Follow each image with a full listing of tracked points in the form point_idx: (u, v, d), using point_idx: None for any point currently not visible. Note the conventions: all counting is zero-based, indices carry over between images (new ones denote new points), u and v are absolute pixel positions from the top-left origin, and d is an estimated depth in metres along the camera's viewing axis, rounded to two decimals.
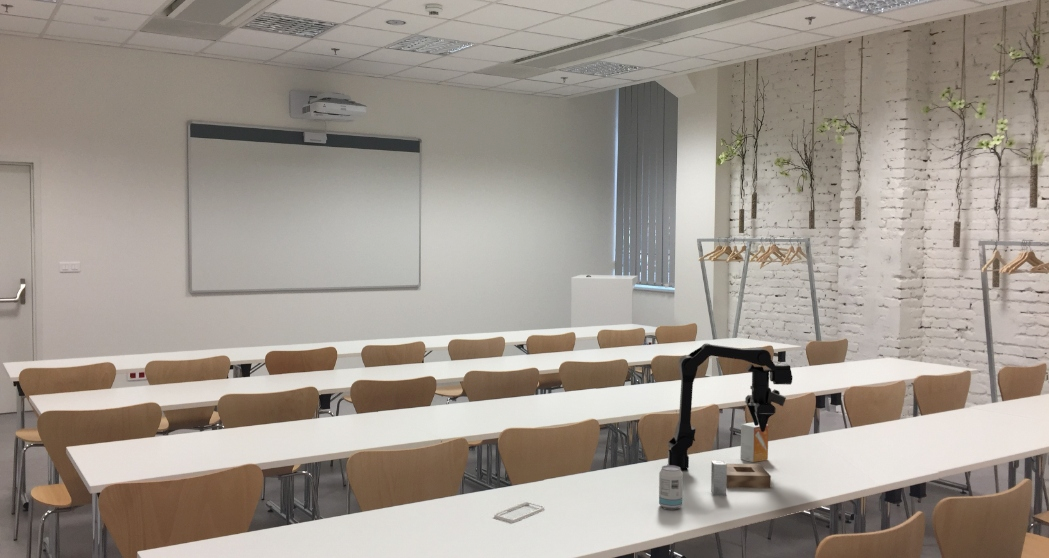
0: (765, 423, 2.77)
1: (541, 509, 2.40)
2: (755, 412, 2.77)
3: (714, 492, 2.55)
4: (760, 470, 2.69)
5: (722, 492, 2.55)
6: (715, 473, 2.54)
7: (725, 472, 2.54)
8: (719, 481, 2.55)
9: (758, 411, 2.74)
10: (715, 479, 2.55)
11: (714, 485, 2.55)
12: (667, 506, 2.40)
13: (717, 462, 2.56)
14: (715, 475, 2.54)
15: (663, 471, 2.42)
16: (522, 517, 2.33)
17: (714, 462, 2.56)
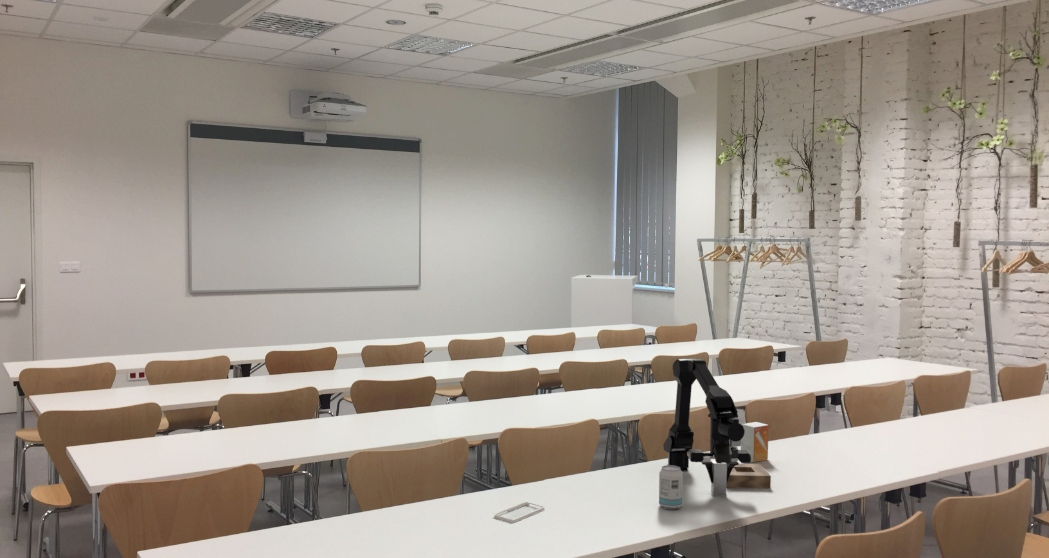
0: (708, 473, 2.56)
1: (541, 509, 2.40)
2: None
3: (714, 492, 2.55)
4: (760, 470, 2.69)
5: (722, 492, 2.55)
6: (715, 473, 2.54)
7: (725, 472, 2.54)
8: (719, 481, 2.55)
9: None
10: (715, 479, 2.55)
11: (714, 485, 2.55)
12: (667, 506, 2.40)
13: None
14: (715, 475, 2.54)
15: (663, 471, 2.42)
16: (522, 517, 2.33)
17: (714, 462, 2.56)
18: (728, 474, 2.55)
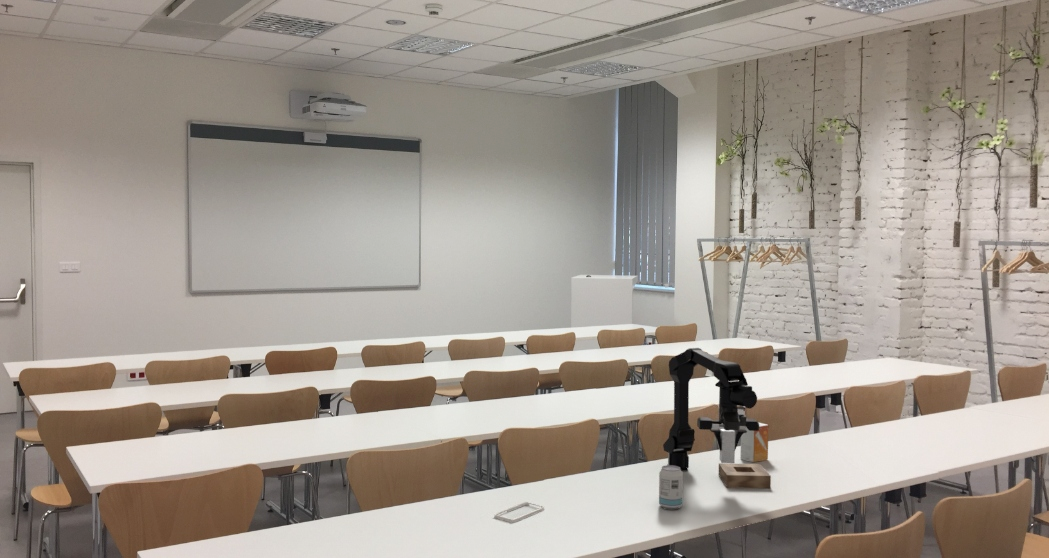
0: (717, 441, 2.60)
1: (541, 509, 2.40)
2: None
3: (722, 459, 2.59)
4: (760, 470, 2.69)
5: (730, 459, 2.59)
6: (723, 441, 2.58)
7: (733, 440, 2.58)
8: (727, 449, 2.58)
9: None
10: (723, 446, 2.59)
11: (722, 452, 2.59)
12: (667, 506, 2.40)
13: (725, 430, 2.60)
14: (723, 442, 2.58)
15: (663, 471, 2.42)
16: (522, 517, 2.33)
17: (723, 430, 2.60)
18: (736, 442, 2.59)
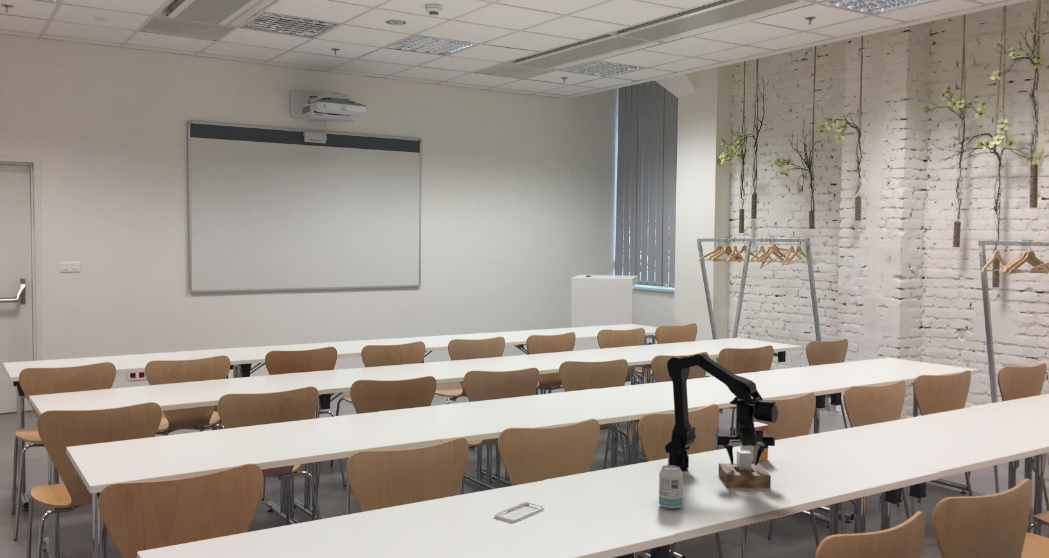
0: (729, 456, 2.69)
1: (541, 509, 2.40)
2: None
3: None
4: (760, 470, 2.69)
5: None
6: (740, 461, 2.68)
7: (750, 461, 2.68)
8: (744, 469, 2.68)
9: None
10: (740, 467, 2.68)
11: None
12: (667, 506, 2.40)
13: (742, 452, 2.69)
14: (740, 463, 2.68)
15: (663, 471, 2.42)
16: (522, 517, 2.33)
17: (739, 451, 2.70)
18: (758, 457, 2.69)
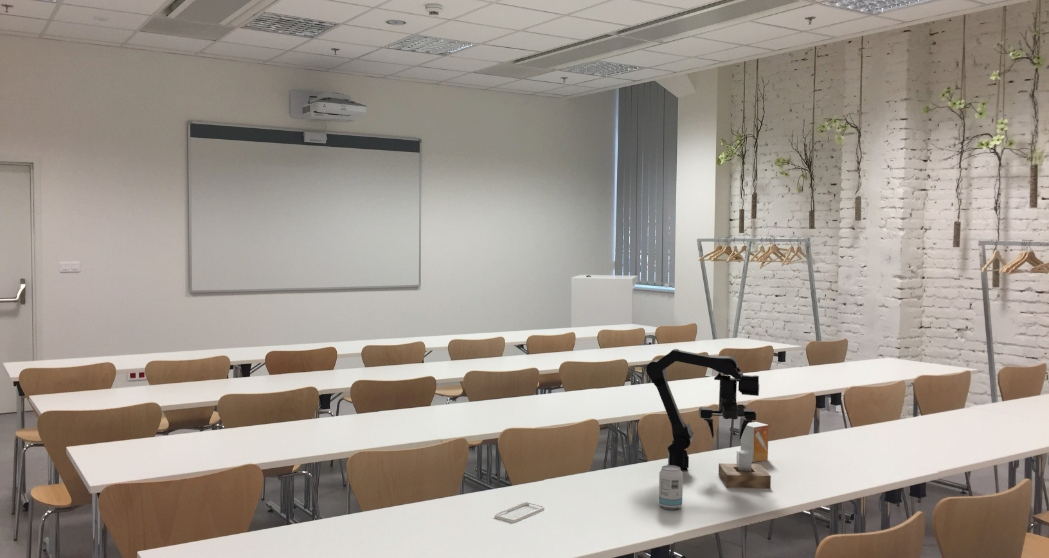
0: None
1: (541, 509, 2.40)
2: None
3: None
4: (760, 470, 2.69)
5: None
6: (740, 461, 2.68)
7: (750, 461, 2.68)
8: (744, 469, 2.68)
9: None
10: (740, 467, 2.68)
11: None
12: (667, 506, 2.40)
13: (742, 452, 2.69)
14: (740, 463, 2.68)
15: (663, 471, 2.42)
16: (522, 517, 2.33)
17: (739, 451, 2.70)
18: (742, 431, 2.77)
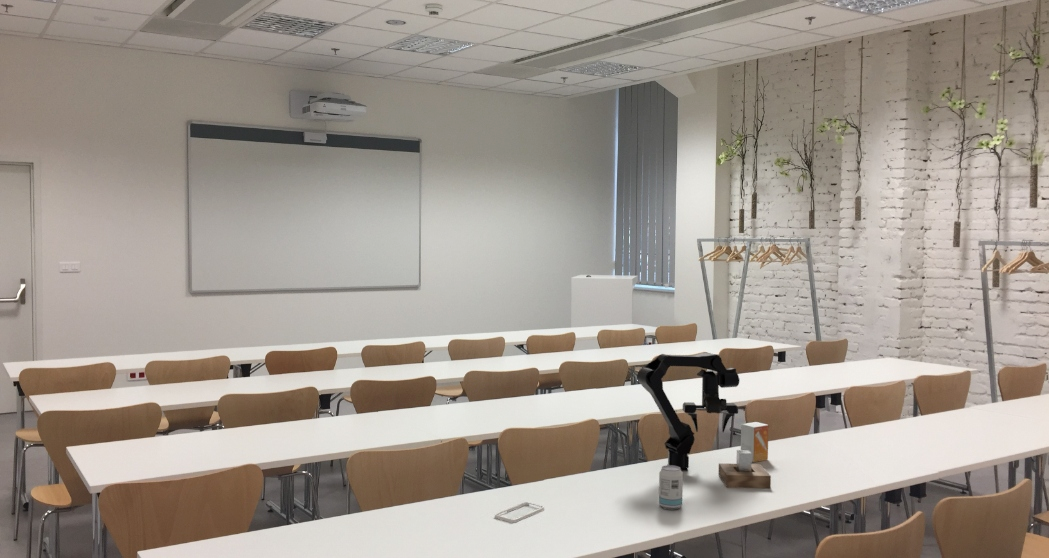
0: (694, 423, 2.88)
1: (541, 509, 2.40)
2: None
3: None
4: (760, 470, 2.69)
5: None
6: (740, 462, 2.68)
7: (750, 461, 2.68)
8: (744, 469, 2.68)
9: None
10: (740, 467, 2.68)
11: None
12: (667, 506, 2.40)
13: (742, 452, 2.69)
14: (740, 463, 2.68)
15: (663, 471, 2.42)
16: (523, 517, 2.33)
17: (739, 451, 2.70)
18: (725, 424, 2.88)
